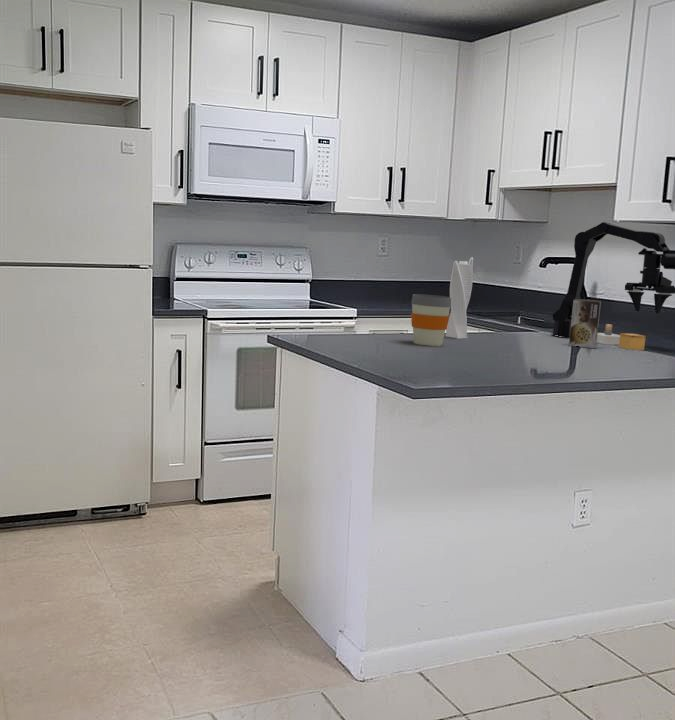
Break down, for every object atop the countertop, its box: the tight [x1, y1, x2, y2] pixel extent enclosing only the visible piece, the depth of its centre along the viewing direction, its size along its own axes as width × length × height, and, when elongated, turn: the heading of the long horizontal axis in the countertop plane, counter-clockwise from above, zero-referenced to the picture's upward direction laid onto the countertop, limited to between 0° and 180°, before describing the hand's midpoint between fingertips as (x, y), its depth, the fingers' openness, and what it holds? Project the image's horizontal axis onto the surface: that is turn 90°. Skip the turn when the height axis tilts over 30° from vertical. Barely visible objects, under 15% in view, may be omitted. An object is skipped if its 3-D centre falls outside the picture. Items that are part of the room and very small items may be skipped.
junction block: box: [597, 323, 620, 346], centre depth 314 cm, size 10×10×7 cm
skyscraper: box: [444, 256, 474, 340], centre depth 292 cm, size 8×8×28 cm
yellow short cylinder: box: [618, 332, 647, 351], centre depth 300 cm, size 6×6×5 cm
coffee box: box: [568, 298, 602, 349], centre depth 295 cm, size 9×6×16 cm
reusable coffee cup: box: [410, 293, 451, 347], centre depth 268 cm, size 13×12×15 cm
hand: (647, 312), depth 303 cm, fingers open, 9 cm apart
